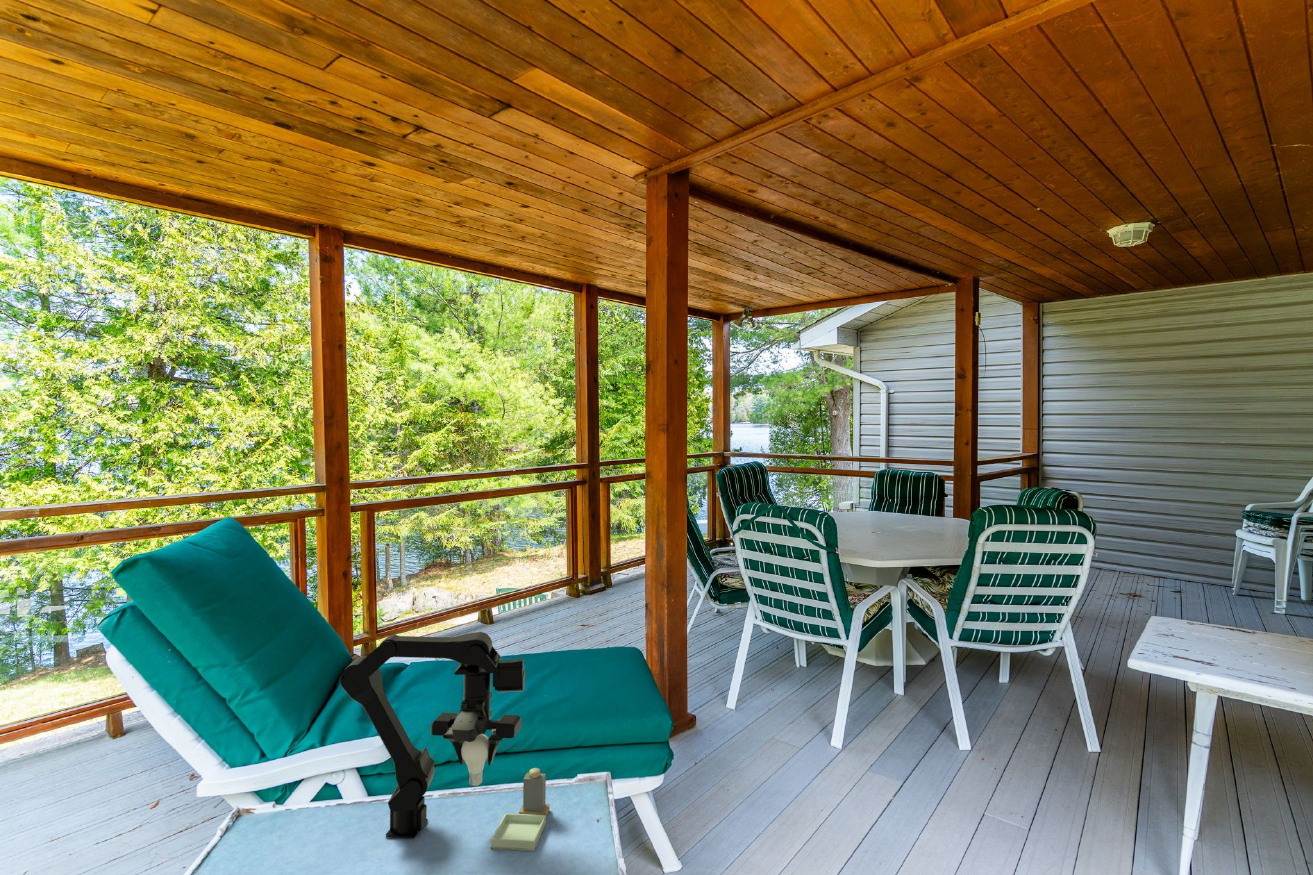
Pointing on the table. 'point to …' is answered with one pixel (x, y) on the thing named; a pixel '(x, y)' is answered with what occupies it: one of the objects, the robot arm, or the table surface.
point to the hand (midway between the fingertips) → (476, 764)
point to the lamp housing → (534, 794)
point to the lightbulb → (475, 757)
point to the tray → (518, 832)
